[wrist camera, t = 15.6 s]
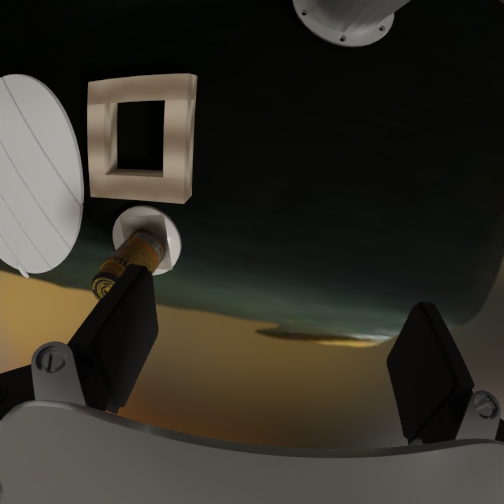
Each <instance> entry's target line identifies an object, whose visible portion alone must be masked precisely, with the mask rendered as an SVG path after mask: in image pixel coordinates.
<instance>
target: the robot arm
mask: <svg viewBox="0 0 504 504" xmlns="http://www.w3.org/2000/svg"><path fill="white" fill-rule="evenodd" d="M408 1H410V0H293V6H294V9H295V12H296V14H297V16H298V18H299V19H300V21H301V22H302V23H303V24H304V26H305V27H306V28H307V29H308V30H310V31H311V32H312V33H313V34H315V35H316V36H318V37H319V38H321V39H323V40H325V41H327V42H330V43H332V44H336V45H340V46H346V47H359V46H365V45H369V44H372V43H373V42H376V41H378V40H379V39H380V38H382V37H383V36H384V35H385V34H386V33H387V32H388V31H389V29H390V27H391V26H392V23H393V19H394V12H395V11H396V10H398V9H399V8H400V7H402V6H403V5H404V4H406V3H407V2H408ZM500 1H501V2H503V3H504V0H500ZM302 13H305V14H306V15H305V16H303V15H302ZM379 28H380V29H381V30H382V31H380V30H379ZM340 38H342V39H343V42H342V41H340ZM157 335H158V321H157V314H156V305H155V296H154V286H153V276H152V272H151V271H148V268H147V266H143V265H137V264H130V265H129V266H128V267H127V269H126V270H125V271H124V272H123V273H122V275H121V276H120V277H119V278H118V280H117V281H116V282H115V283H114V285H113V286H112V287H111V288H110V290H109V291H108V292H107V294H106V295H105V296H104V297H102V298H101V300H100V301H99V302H98V303H97V305H96V306H95V307H94V309H93V310H92V312H91V313H90V314H89V315H88V317H87V318H86V319H85V321H84V322H83V323H82V325H81V326H80V328H79V329H78V330H77V332H76V333H75V334H74V336H73V337H72V338H71V340H70V341H69V343H68V344H67V345H66V344H64V343H62V342H49V343H46V344H43V345H42V346H41V347H39V348H38V349H37V350H36V351H35V352H34V354H33V357H32V360H31V364H30V365H27V366H24V367H21V368H17V369H14V370H11V371H7V372H4V373H1V374H0V504H504V421H503V420H502V419H501V418H500V416H501V407H500V404H499V402H498V400H497V399H496V397H495V396H494V395H492V394H491V393H490V392H487V391H485V390H479V391H476V392H475V393H473V391H472V388H473V387H474V386H475V385H474V382H473V380H472V378H471V376H470V373H469V371H468V369H467V367H466V365H465V362H464V360H463V358H462V356H461V354H460V352H459V350H458V348H457V346H456V344H455V342H454V340H453V338H452V336H451V334H450V332H449V330H448V328H447V326H446V324H445V323H444V321H443V319H442V317H441V315H440V313H439V311H438V310H437V308H436V306H435V305H434V303H428V302H419V303H417V305H415V306H413V307H412V309H411V311H410V314H409V316H408V318H407V320H406V322H405V324H404V326H403V328H402V330H401V332H400V334H399V336H398V338H397V340H396V342H395V344H394V346H393V348H392V350H391V352H390V354H389V355H388V358H387V367H388V371H389V375H390V379H391V383H392V386H393V391H394V394H395V399H396V403H397V407H398V411H399V416H400V420H401V425H402V430H403V435H404V437H405V438H407V439H408V445H411V446H402V447H390V448H375V449H343V450H342V449H341V450H340V449H337V450H336V449H333V450H332V449H329V450H328V449H301V448H284V447H273V446H262V445H254V444H246V443H238V442H232V441H225V440H218V439H213V438H207V437H202V436H197V435H192V434H187V433H183V432H178V431H174V430H170V429H166V428H162V427H158V426H154V425H150V424H146V423H142V422H138V421H135V420H131V419H128V418H124V417H121V416H118V415H114V414H111V413H108V412H105V411H106V410H107V411H109V412H112V413H115V414H117V412H118V410H119V407H124V406H125V404H126V402H127V400H128V398H129V396H130V393H131V391H132V389H133V387H134V385H135V382H136V380H137V378H138V376H139V374H140V372H141V369H142V367H143V365H144V363H145V361H146V358H147V356H148V355H149V352H150V350H151V348H152V346H153V344H154V342H155V340H156V338H157ZM421 443H423V444H421ZM417 444H421V445H417Z"/></svg>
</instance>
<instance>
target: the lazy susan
mask: <svg viewBox="0 0 504 504" xmlns="http://www.w3.org/2000/svg"><path fill="white" fill-rule="evenodd" d="M83 202H84V184H83V172H82V164H81V158H80V153H79V148H78V144H77V141H76V137H75V134H74V131H73V128H72V126H71V123H70V121H69V118H68V116H67V114H66V112H65V110H64V108H63V106H62V105H61V103H60V102H59V100H58V99H57V97H56V96H55V95H54V93H53V92H52V91H51V90H50V89H49V88H48V87H47V86H46V85H45V84H43V83H42V82H41V81H39V80H37V79H36V78H33V77H31V76H28V75H23V74H13V75H7V76H4V77H1V78H0V258H1V259H2V260H3V261H4V262H6V263H7V264H9V265H10V266H12V267H14V268H16V269H18V270H19V271H20V272H21V273H22V275H23V276H25V277H26V278H28V277H29V275H28V273H42V272H46V271H49V270H51V269H53V268H54V267H56V266H57V265H58V264H60V263H61V262H62V261H63V260H64V259H65V258H66V256H67V255H68V254H69V252H70V251H71V249H72V247H73V245H74V243H75V241H76V238H77V236H78V233H79V229H80V225H81V220H82V213H83V205H82V203H83ZM26 271H27V272H28V273H27V272H26Z"/></svg>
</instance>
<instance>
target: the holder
mask: <svg viewBox="0 0 504 504" xmlns="http://www.w3.org/2000/svg"><path fill="white" fill-rule="evenodd" d="M196 86H197V76H196V75H192V74H161V75H146V76H134V77H124V78H115V79H107V80H100V81H93V82H88V107H87V134H88V163H89V178H90V191H91V197H103V198H118V199H132V200H146V201H158V202H170V203H181V204H184V203H185V202H186V201H187V200H188V199H189V198H190V197H191V195H192V159H193V135H194V116H195V100H196ZM152 100H165V116H164V150H163V171H161V170H137V169H117V103H118V102H132V101H152Z"/></svg>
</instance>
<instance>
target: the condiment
mask: <svg viewBox="0 0 504 504" xmlns="http://www.w3.org/2000/svg"><path fill="white" fill-rule="evenodd" d="M120 221H121V226H122V231H123V237H124V241H125V242H123V244H122V245H121V246H120V247H119V248H118V249H117V250H116V251H115V252H114V253H113V254H112V255H111V256H110V257H109V258H108V259H107V260H106V261H105V262H104V263H103V264H102V266H101V269H100V271H99V272H98V274H97V275H96V276H94V278H93V282H92V290H93V293H94V295H95V297H96V298H97V300H98V301H100V300H101V298H102V297H104V296H105V295H106V294H107V292H108V291H109V290H110V288H111V287H112V286H113V285H114V283H115V282H116V281H117V280H118V278H119V277H120V276H121V275H122V273H123V272H124V271H125V270H126V269H127V267H128V266H129V265H130V264H137V265H143V266H147V268H148V271H151V272H152V274H153V273H154V272H155V270H156V269H165V270H172V264H171V257H170V250H169V245H168V240H167V231H166V225H165V218H164V217H163V216H122V217H120Z"/></svg>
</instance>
